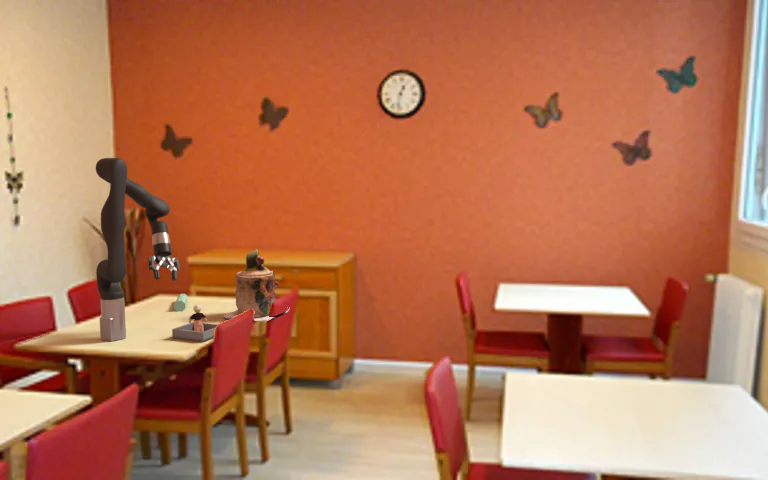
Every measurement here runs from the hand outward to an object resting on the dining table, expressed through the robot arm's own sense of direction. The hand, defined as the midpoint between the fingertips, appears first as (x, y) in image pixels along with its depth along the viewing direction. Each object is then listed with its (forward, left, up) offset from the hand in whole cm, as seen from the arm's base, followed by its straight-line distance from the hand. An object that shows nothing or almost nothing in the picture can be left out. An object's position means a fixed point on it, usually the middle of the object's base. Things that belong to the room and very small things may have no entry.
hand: (166, 279), depth 293 cm
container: (+43, +29, -23) cm, 57 cm away
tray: (-3, -19, -23) cm, 30 cm away
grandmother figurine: (-3, -18, -22) cm, 29 cm away
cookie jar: (+40, -19, -23) cm, 50 cm away
